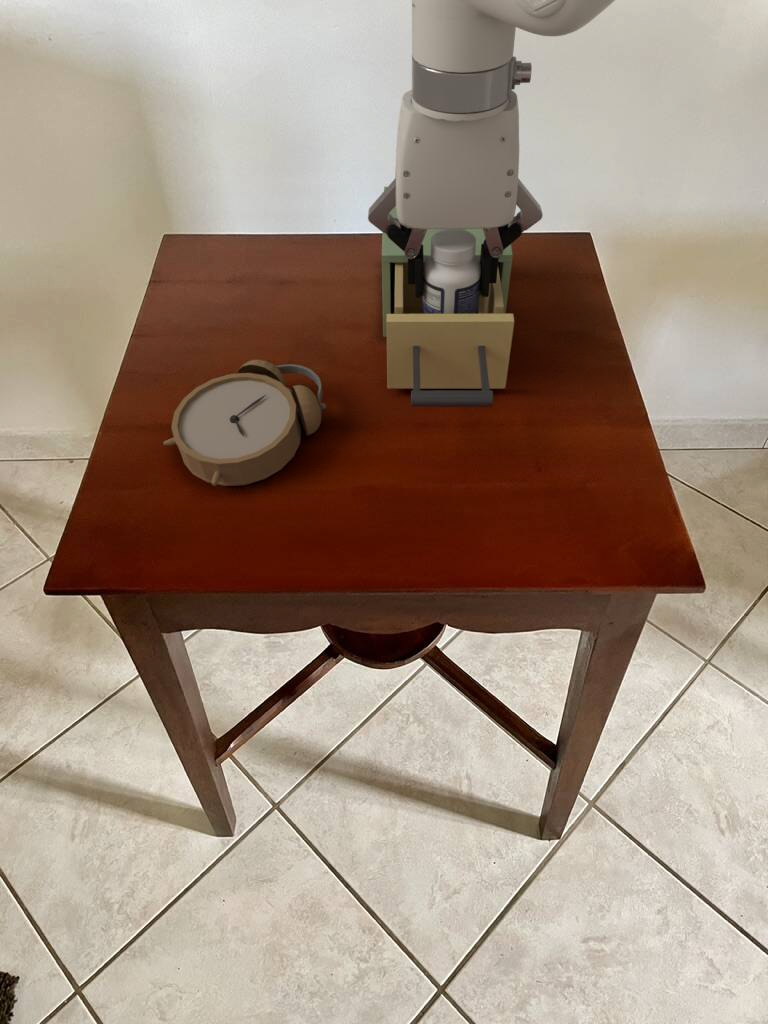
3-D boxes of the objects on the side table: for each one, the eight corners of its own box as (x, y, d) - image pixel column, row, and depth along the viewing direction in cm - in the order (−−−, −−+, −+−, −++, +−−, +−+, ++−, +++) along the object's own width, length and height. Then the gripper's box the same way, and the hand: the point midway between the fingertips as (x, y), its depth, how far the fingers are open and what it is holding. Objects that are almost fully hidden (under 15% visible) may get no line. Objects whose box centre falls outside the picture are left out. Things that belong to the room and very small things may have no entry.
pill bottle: (477, 315, 78) (484, 224, 70) (476, 348, 74) (484, 256, 67) (423, 313, 78) (425, 222, 71) (420, 346, 75) (421, 254, 67)
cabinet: (502, 337, 82) (512, 254, 74) (383, 337, 82) (381, 255, 75) (493, 265, 90) (501, 185, 83) (385, 265, 91) (384, 186, 83)
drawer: (512, 444, 70) (522, 377, 64) (386, 444, 70) (385, 377, 64) (495, 312, 83) (502, 245, 77) (389, 312, 83) (388, 246, 77)
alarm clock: (143, 423, 69) (266, 325, 74) (164, 456, 74) (279, 362, 78) (221, 487, 64) (347, 377, 69) (238, 518, 68) (356, 413, 73)
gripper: (567, 60, 61) (538, 265, 75) (350, 64, 62) (361, 268, 75) (582, 99, 56) (547, 311, 70) (345, 103, 57) (358, 313, 70)
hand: (451, 287), depth 72 cm, fingers closed on pill bottle, 5 cm apart
